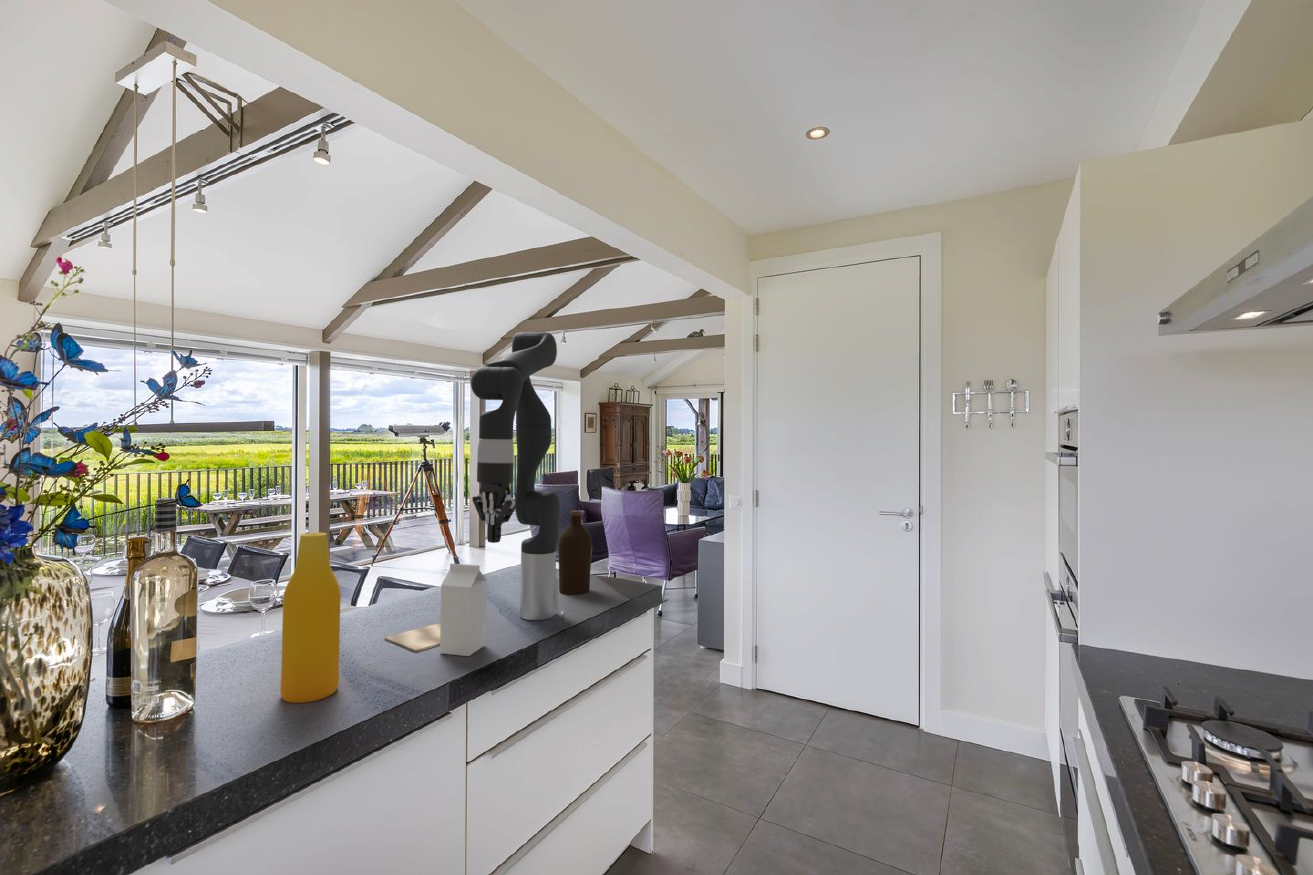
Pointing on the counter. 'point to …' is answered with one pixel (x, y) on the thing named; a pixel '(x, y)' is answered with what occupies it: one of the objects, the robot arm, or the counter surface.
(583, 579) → the olive oil
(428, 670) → the counter surface
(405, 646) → the cork mat
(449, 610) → the milk carton
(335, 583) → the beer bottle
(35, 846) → the counter surface
